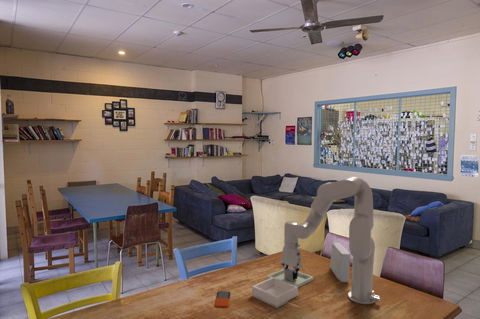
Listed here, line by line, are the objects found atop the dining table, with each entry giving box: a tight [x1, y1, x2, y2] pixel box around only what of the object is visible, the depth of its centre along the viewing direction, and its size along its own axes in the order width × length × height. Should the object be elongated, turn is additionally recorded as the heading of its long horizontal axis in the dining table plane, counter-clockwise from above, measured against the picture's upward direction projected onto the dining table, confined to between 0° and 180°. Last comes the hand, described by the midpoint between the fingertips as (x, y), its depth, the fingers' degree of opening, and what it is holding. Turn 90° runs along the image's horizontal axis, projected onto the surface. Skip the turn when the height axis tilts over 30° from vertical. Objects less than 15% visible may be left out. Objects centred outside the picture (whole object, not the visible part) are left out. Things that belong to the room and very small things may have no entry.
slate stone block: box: [284, 266, 296, 281], centre depth 180 cm, size 5×5×5 cm
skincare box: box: [329, 242, 351, 283], centre depth 189 cm, size 21×6×16 cm, turn 179°
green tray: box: [266, 268, 314, 289], centre depth 180 cm, size 18×18×2 cm
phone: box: [214, 290, 231, 309], centre depth 158 cm, size 6×1×15 cm
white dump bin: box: [251, 277, 299, 309], centre depth 162 cm, size 16×16×5 cm
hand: (290, 277), depth 180 cm, fingers closed on slate stone block, 5 cm apart
